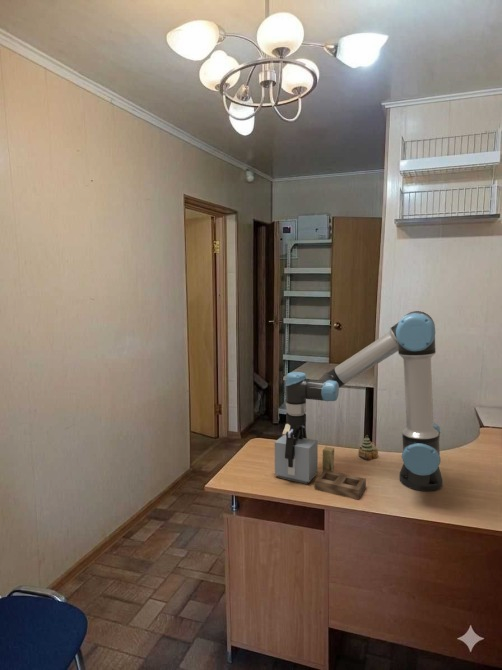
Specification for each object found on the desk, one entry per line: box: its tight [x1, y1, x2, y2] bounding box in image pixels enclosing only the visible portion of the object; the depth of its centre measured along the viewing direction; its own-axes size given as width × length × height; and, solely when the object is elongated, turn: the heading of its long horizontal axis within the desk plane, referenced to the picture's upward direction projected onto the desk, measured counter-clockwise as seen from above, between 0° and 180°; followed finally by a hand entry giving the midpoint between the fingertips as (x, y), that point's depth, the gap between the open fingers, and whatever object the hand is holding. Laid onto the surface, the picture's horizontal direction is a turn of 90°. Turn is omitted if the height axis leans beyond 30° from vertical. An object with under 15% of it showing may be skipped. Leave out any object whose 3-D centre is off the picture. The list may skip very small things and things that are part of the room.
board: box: [277, 475, 309, 485], centre depth 167 cm, size 12×7×11 cm, turn 61°
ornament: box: [357, 434, 379, 461], centre depth 185 cm, size 8×6×10 cm
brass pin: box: [322, 446, 335, 472], centre depth 170 cm, size 4×4×10 cm
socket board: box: [314, 469, 367, 501], centre depth 158 cm, size 16×10×4 cm, turn 61°
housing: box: [274, 435, 319, 483], centre depth 167 cm, size 14×9×13 cm, turn 61°
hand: (296, 469), depth 167 cm, fingers closed on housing, 9 cm apart
